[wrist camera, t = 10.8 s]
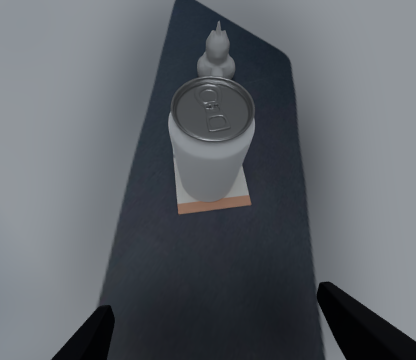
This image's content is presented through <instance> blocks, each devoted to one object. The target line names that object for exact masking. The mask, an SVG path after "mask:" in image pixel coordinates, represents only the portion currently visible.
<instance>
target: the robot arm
mask: <svg viewBox="0 0 416 360" xmlns="http://www.w3.org/2000/svg"><path fill="white" fill-rule="evenodd" d="M317 300H318V303H319V305H320V307H321V309H322V312H323V314H324V316H325V318H326V320H327V323H328V325H329V327H330V329H331V331H332V333H333V336H334V338H335V340H336V341H337V344H338V345H339V347H340V349H341V351H342V353H343V355H344V356H345V358H346V360H416V341H414V340H413V339H412V338H410V337H409V336H407V335H406V334H404V333H403V332H402V331H400V330H399V329H397V328H396V327H394V326H393V325H391V324H390V323H389V322H387V321H386V320H384V319H383V318H381V317H380V316H378V315H377V314H376V313H374V312H373V311H371V310H370V309H368V308H367V307H366V306H364V305H363V304H361V303H360V302H358V301H357V300H356V299H354V298H353V297H351V296H350V295H348V294H347V293H345V292H344V291H343V290H341V289H340V288H338V287H337V286H335V285H334V284H333V283H331V282H321V283H320V284H319V287H318V291H317ZM114 323H115V318H114V314H113V311H112V308H111V306H110V305H103V306H99V307H98V308H97V309H96V310H95V311H94V312H93V314H92V315H91V316H90V317H89V318H88V319H87V320H86V321H85V323H84V324H83V325H82V326H81V327H80V328H79V329H78V330H77V331H76V332H75V334H74V335H73V336H72V337H71V338H70V339H69V340H68V341H67V343H66V344H65V345H64V346H63V347H62V348H61V349H60V351H59V352H58V353H57V354H56V355H55V356H54V357H53V358H52V360H107V356H108V351H109V347H110V342H111V338H112V333H113V328H114Z"/></svg>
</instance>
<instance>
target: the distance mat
mask: <svg viewBox="0 0 416 360" xmlns="http://www.w3.org/2000/svg"><path fill="white" fill-rule="evenodd" d="M173 156H174V168H175V179H176V191H177V203H178V214H186V213H194V212H201V211H209V210H217V209H224V208H232V207H239V206H247V205H251V201H250V197H249V193H248V189H247V184H246V180H245V176H244V172H243V167H242V165H241V168H240V170H239V173H238V175H237V177H236V180H235V182H234V184H233V186H232V188H231V190H230V192H229V193H228V194H227V195H226V196H225V197H223V198H222V199H220V200H217V201H214V202H202V201H198V200H196V199H194V198H192V197H191V196H190V195H188V194H187V192H186V191H185V190H184V188H183V186H182V183H181V179H180V175H179V171H178V167H177V163H176V159H175V155H174V151H173Z"/></svg>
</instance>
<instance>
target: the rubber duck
mask: <svg viewBox="0 0 416 360" xmlns="http://www.w3.org/2000/svg"><path fill="white" fill-rule="evenodd" d="M228 51H229V40H228V38H227V35H226V31H221V28H220V22H218V25H217V29H216V31H213V30H212V32H211V34H210V35H209V37H208V38H207V41H206V52H204V55H203V56H202V57H201V58H200V59H199V60H198V63H197V70H198V76H199V77H205V76H218V77H223V78H227V79H230V80H231V79H232V77H233V75H234V72H235V64H234V60H233V59H232V58H231V57H230V56H229V54H228Z"/></svg>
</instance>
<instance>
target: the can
mask: <svg viewBox="0 0 416 360" xmlns="http://www.w3.org/2000/svg"><path fill="white" fill-rule="evenodd" d="M254 114H255V106H254V102H253V99H252V97H251V96H250V94H249V93H248V92H247V90H246V89H245V88H243V87H242V86H241V85H240V84H238V83H236V82H234V81H232V80H230V79H227V78H223V77H218V76H205V77H199V78H195V79H193V80H190V81H188V82H187V83H185V84H183V85H182V86H181V87H180V88H179V89H178V90H177V91H176V93H175V94H174V96H173V98H172V102H171V112H170V115H169V121H168V125H169V133H170V138H171V142H172V146H173V151H174V155H175V159H176V163H177V167H178V171H179V175H180V179H181V183H182V186H183V188H184V190H185V191H186V192H187V194H188V195H190V196H191V197H192V198H194V199H196V200H198V201H202V202H214V201H217V200H220V199H222V198H223V197H225V196H226V195H227V194H228V193H229V192H230V190H231V188H232V186H233V184H234V182H235V180H236V177H237V175H238V173H239V170H240V168H241V165H242V163H243V160H244V158H245V156H246V153H247V151H248V148H249V146H250V143H251V140H252V138H253V134H254V129H255V121H254Z"/></svg>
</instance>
